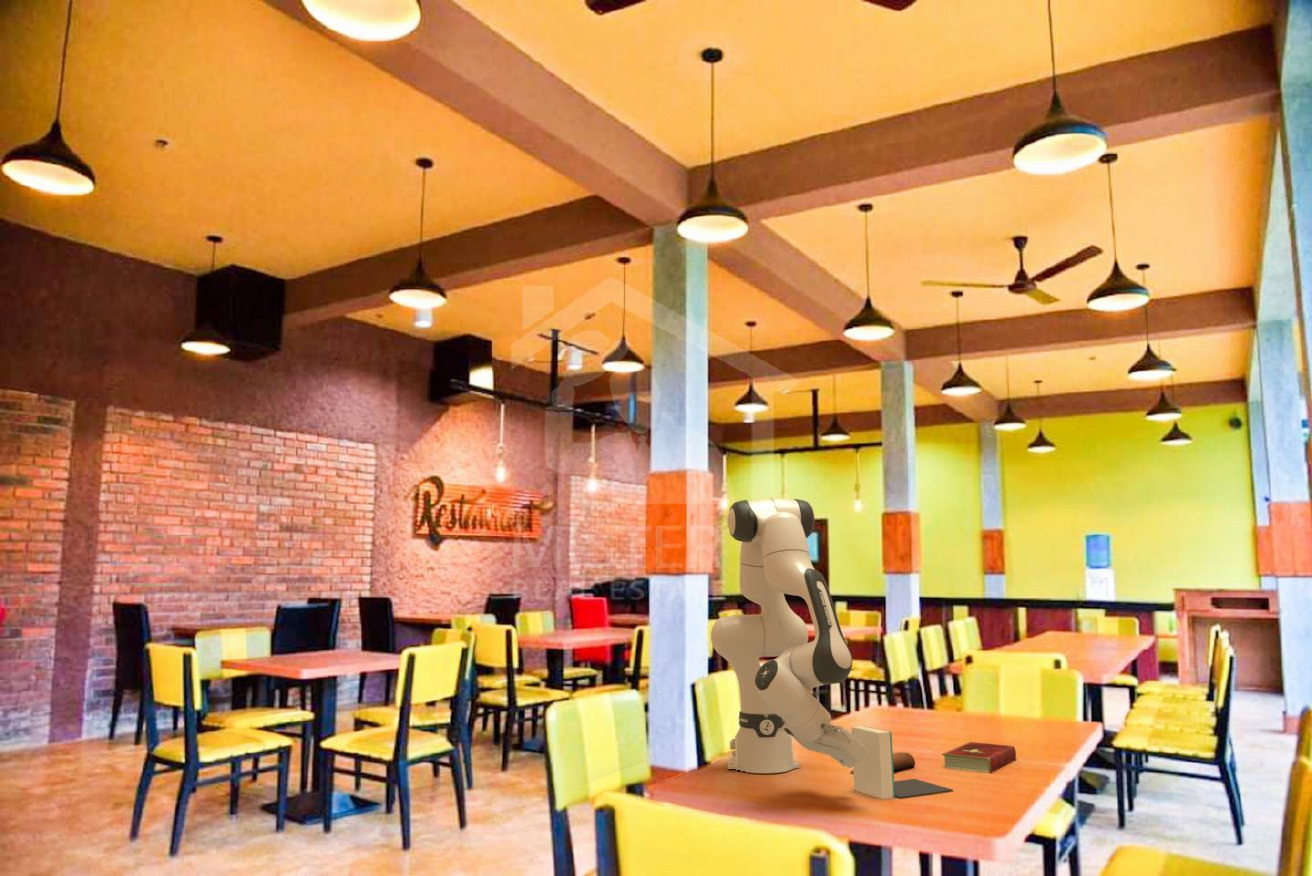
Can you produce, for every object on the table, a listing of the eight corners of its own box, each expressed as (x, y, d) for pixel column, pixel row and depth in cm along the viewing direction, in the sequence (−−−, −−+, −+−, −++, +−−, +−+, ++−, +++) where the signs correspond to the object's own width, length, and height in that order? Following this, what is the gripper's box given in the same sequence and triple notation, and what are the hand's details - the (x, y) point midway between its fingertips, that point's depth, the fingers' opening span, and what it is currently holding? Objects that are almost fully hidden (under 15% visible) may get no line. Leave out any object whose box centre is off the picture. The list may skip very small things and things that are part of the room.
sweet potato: (886, 763, 237) (897, 741, 236) (908, 780, 232) (918, 759, 231) (847, 773, 225) (857, 751, 223) (868, 792, 220) (879, 769, 219)
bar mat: (900, 798, 198) (900, 796, 198) (863, 787, 210) (863, 785, 210) (953, 791, 204) (952, 789, 204) (914, 780, 216) (914, 778, 216)
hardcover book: (1016, 761, 239) (1015, 745, 240) (990, 775, 223) (989, 757, 224) (971, 756, 247) (970, 740, 247) (943, 769, 230) (942, 752, 231)
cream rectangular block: (882, 799, 198) (878, 733, 200) (854, 790, 207) (851, 727, 209) (895, 797, 199) (891, 731, 202) (866, 788, 208) (863, 725, 211)
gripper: (846, 716, 191) (886, 760, 193) (793, 706, 209) (830, 746, 212) (830, 740, 188) (871, 784, 191) (777, 727, 207) (815, 768, 209)
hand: (849, 764), depth 201 cm, fingers closed
